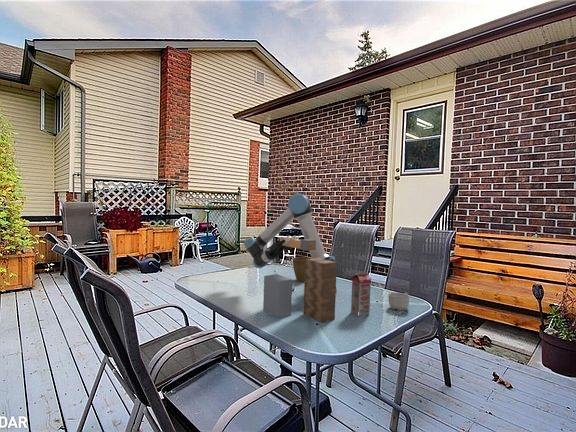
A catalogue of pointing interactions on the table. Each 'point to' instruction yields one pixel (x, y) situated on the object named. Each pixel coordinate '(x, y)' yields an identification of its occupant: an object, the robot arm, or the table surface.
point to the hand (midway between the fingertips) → (292, 238)
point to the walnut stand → (320, 289)
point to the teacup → (399, 300)
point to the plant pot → (299, 268)
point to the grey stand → (277, 295)
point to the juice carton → (361, 294)
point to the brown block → (301, 244)
